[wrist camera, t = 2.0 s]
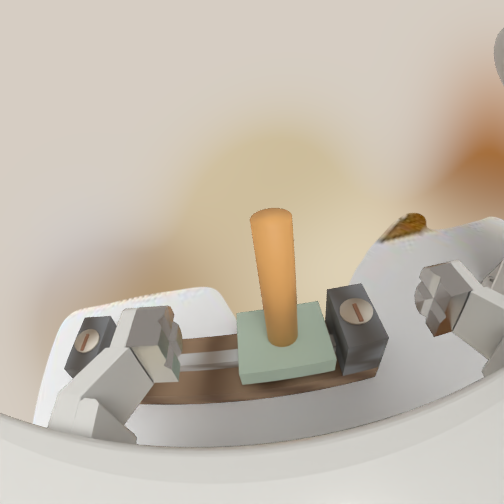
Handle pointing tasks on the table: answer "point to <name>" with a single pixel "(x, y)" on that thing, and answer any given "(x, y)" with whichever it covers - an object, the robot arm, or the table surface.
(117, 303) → the table surface
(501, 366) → the robot arm
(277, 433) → the table surface
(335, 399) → the table surface
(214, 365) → the rail
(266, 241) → the slider with orange handle
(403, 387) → the table surface
